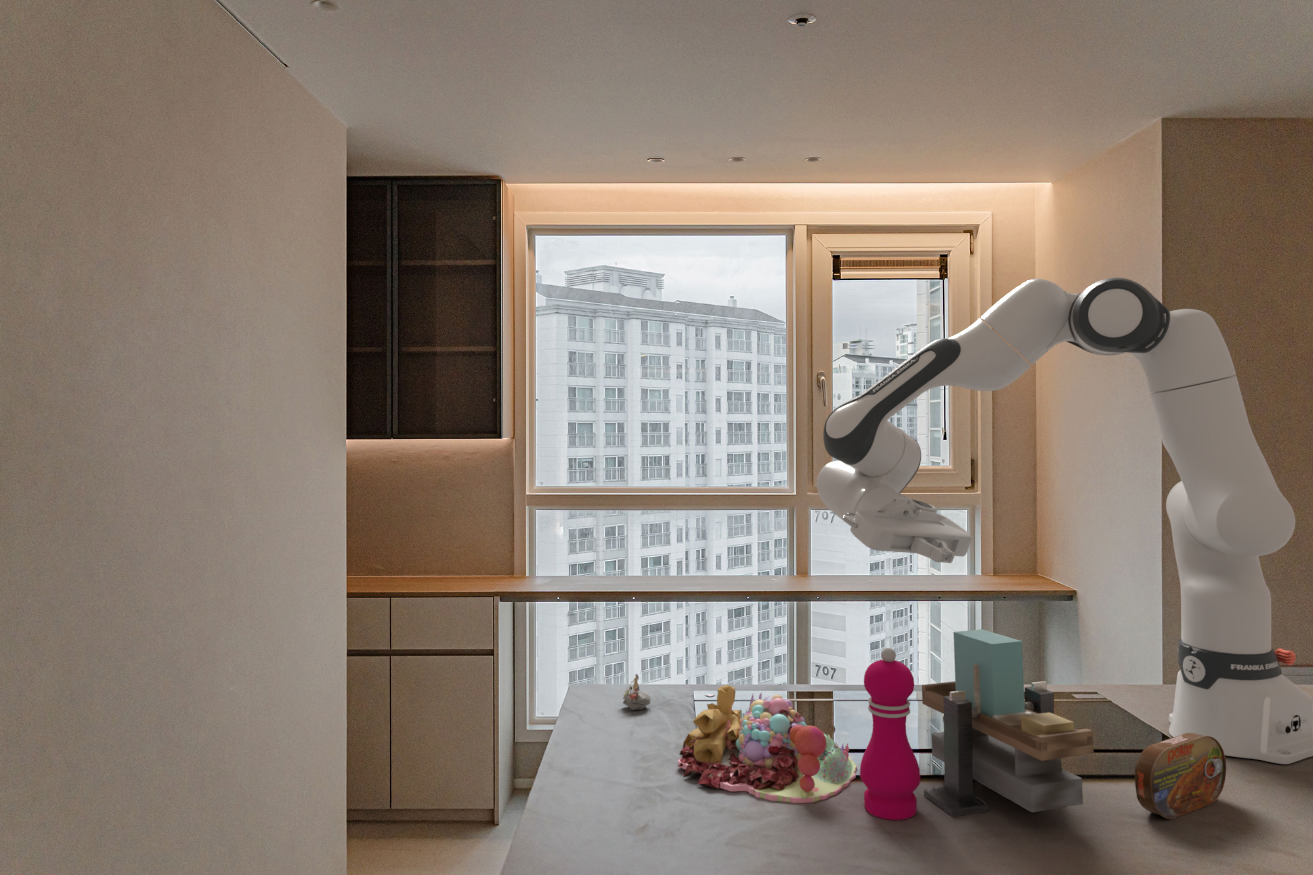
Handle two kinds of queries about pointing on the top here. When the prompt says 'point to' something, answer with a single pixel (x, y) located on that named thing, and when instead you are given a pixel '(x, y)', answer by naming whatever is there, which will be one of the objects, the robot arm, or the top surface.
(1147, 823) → the top surface
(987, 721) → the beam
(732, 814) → the top surface
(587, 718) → the top surface
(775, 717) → the candy landscape model
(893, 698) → the pepper mill
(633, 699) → the figurine
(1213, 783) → the tin
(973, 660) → the teal rectangular block
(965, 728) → the fulcrum
